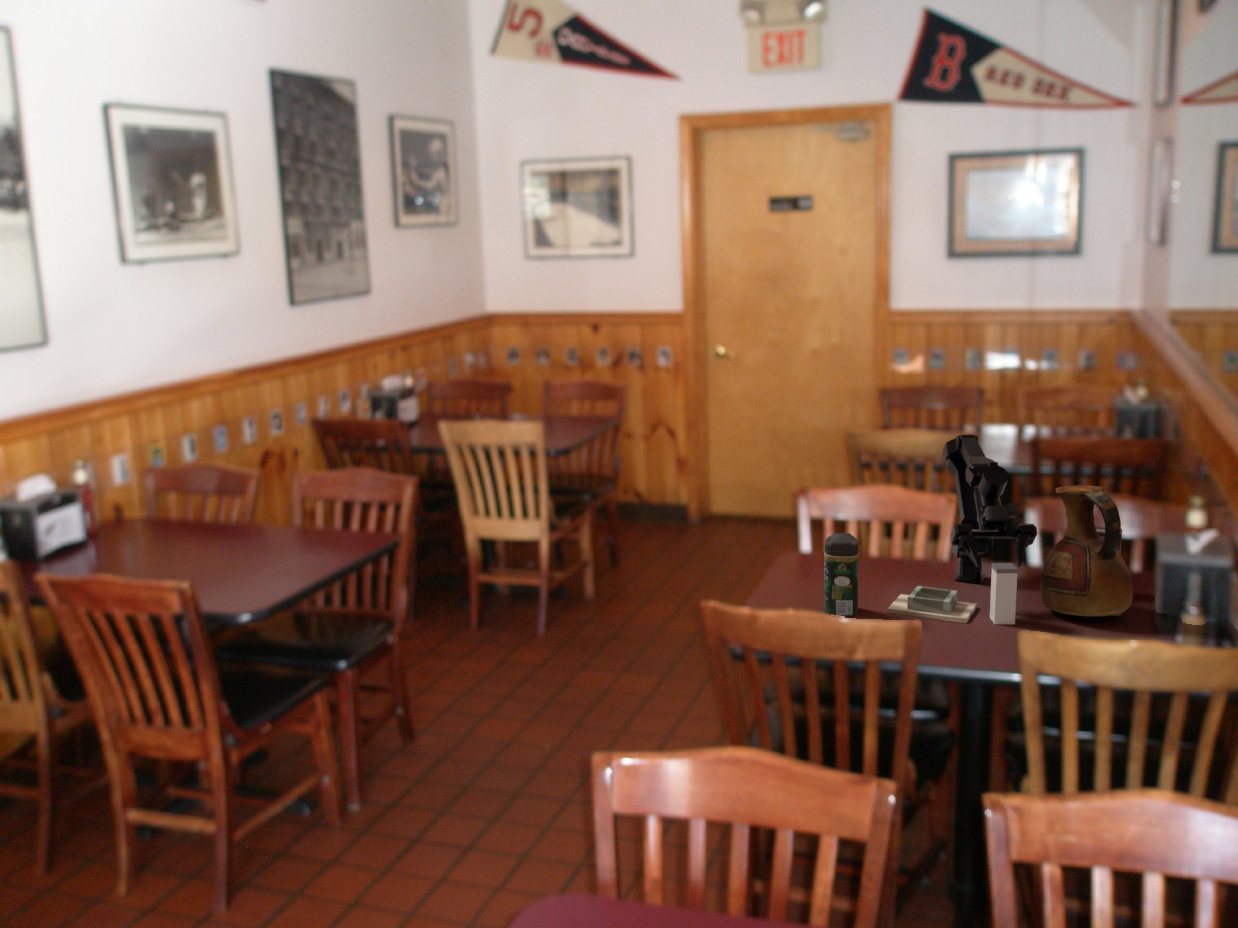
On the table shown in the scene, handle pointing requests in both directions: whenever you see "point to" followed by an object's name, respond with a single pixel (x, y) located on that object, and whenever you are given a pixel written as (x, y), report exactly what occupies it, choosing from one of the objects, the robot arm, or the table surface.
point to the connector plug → (1003, 593)
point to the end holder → (933, 605)
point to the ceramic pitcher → (1087, 559)
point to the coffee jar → (841, 574)
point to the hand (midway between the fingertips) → (998, 566)
